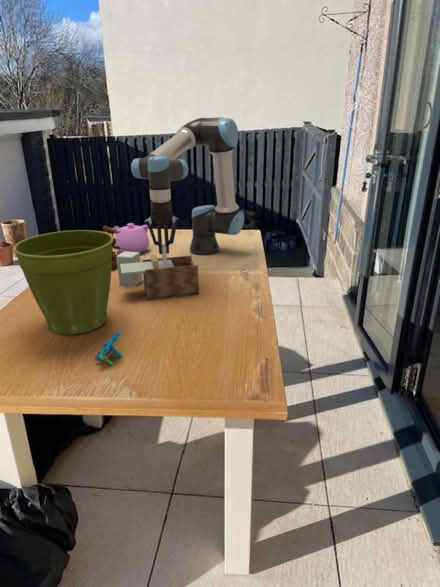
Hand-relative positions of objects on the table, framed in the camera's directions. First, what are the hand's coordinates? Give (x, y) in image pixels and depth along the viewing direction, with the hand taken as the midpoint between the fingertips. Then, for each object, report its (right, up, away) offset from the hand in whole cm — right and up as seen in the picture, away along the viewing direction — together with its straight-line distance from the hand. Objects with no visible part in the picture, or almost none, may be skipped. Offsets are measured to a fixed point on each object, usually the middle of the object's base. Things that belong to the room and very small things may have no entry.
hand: (164, 261), depth 164 cm
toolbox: (+2, -11, +5) cm, 13 cm away
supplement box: (-16, -8, +14) cm, 23 cm away
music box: (-31, -1, +33) cm, 45 cm away
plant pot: (-27, -23, -21) cm, 41 cm away
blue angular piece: (-11, -31, -42) cm, 53 cm away
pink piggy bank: (-24, +10, +57) cm, 63 cm away
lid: (-7, -3, -1) cm, 7 cm away
